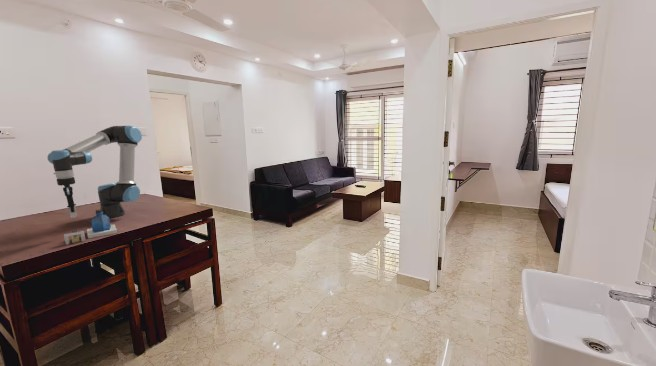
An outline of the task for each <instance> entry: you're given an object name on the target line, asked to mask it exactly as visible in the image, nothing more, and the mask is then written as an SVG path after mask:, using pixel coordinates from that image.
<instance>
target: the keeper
mask: <svg viewBox="0 0 656 366" xmlns="http://www.w3.org/2000/svg"><path fill="white" fill-rule="evenodd" d="M78 234H79V235H80V239H81V242H86V234H85V230H80V231H77V232H74V233H72V232H70V233H65V234H63V237H64V242H65V246H66V245H70V243H71V242H70V237H71V236H73V235H78Z"/></svg>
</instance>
